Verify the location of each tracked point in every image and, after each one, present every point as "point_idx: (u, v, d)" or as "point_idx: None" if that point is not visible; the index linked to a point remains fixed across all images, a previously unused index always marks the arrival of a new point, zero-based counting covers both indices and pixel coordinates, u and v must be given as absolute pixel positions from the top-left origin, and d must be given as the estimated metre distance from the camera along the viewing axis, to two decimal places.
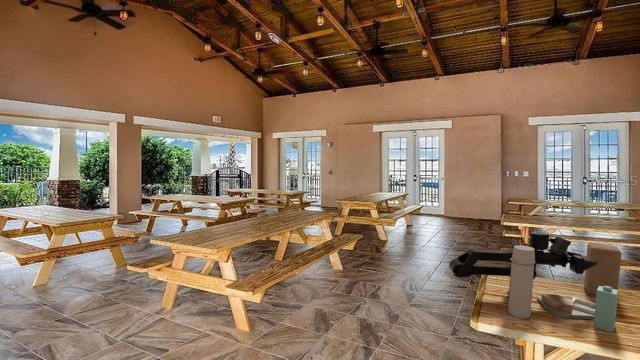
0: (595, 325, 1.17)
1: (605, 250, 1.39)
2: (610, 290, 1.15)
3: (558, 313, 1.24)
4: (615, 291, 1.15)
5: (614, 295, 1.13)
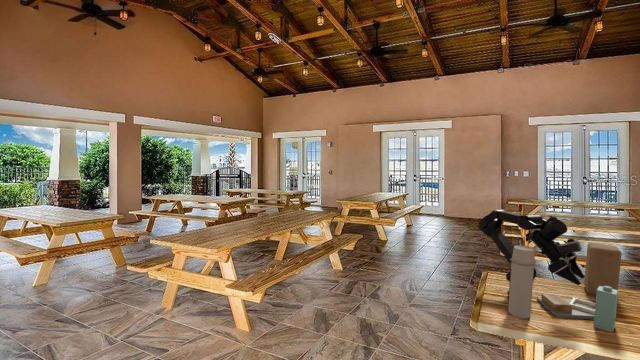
0: (595, 325, 1.17)
1: (605, 250, 1.39)
2: (610, 290, 1.15)
3: (558, 313, 1.24)
4: (615, 291, 1.15)
5: (614, 295, 1.13)
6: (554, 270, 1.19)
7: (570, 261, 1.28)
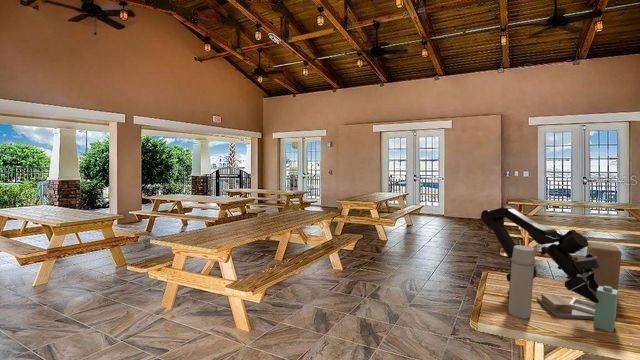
0: (595, 325, 1.17)
1: (605, 250, 1.39)
2: (610, 290, 1.15)
3: (558, 313, 1.24)
4: (615, 291, 1.15)
5: (614, 295, 1.13)
6: (571, 287, 1.15)
7: (588, 277, 1.23)
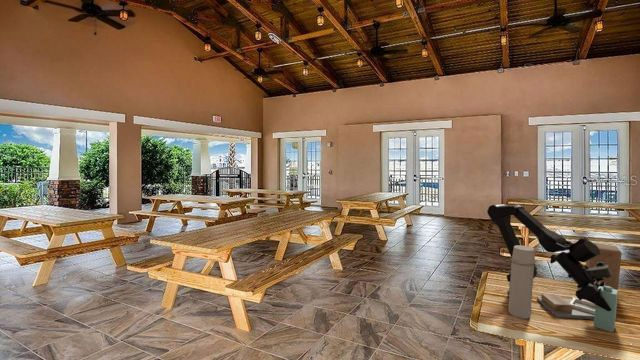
0: (595, 325, 1.17)
1: (605, 250, 1.39)
2: (610, 290, 1.15)
3: (558, 313, 1.24)
4: (615, 291, 1.15)
5: (614, 295, 1.13)
6: (582, 297, 1.13)
7: None
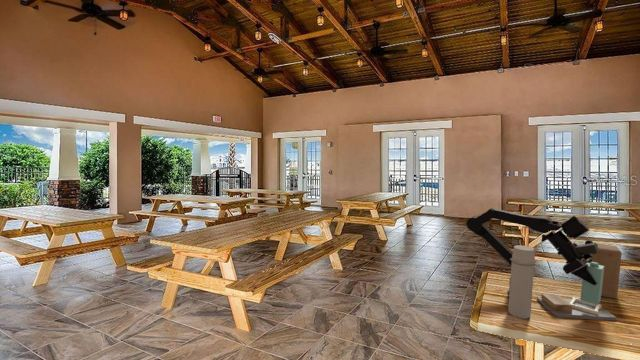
0: (582, 298, 1.24)
1: (605, 250, 1.39)
2: (596, 265, 1.22)
3: (558, 313, 1.24)
4: (601, 267, 1.22)
5: (600, 270, 1.20)
6: (569, 271, 1.21)
7: None
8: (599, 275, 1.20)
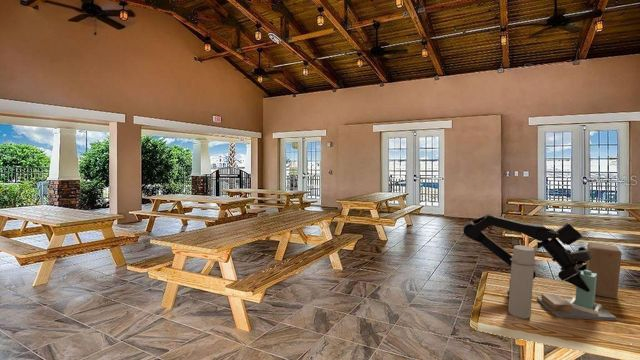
0: None
1: (605, 250, 1.39)
2: (589, 273, 1.26)
3: (558, 313, 1.24)
4: (594, 274, 1.26)
5: (593, 278, 1.24)
6: (564, 277, 1.25)
7: (580, 268, 1.33)
8: (592, 283, 1.25)
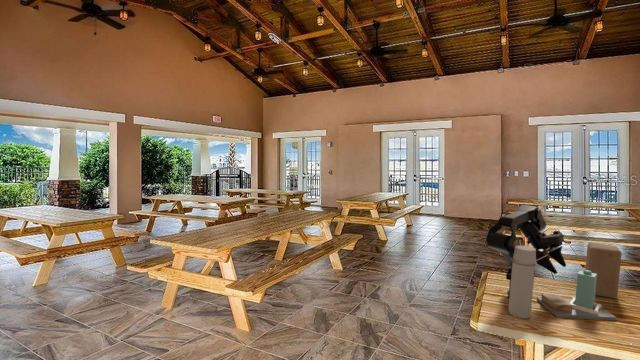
0: None
1: (605, 250, 1.39)
2: (589, 273, 1.26)
3: (558, 313, 1.24)
4: (594, 274, 1.26)
5: (593, 278, 1.24)
6: None
7: (555, 250, 1.39)
8: (592, 283, 1.25)
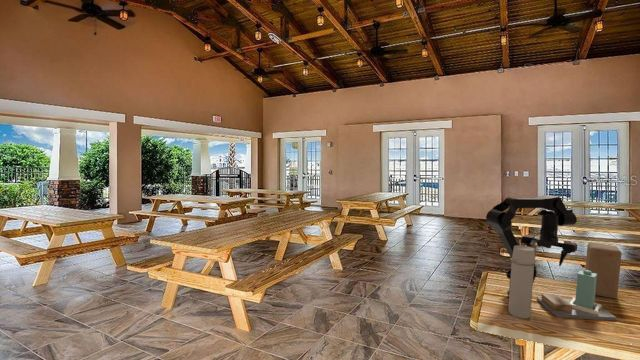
0: None
1: (605, 250, 1.39)
2: (589, 273, 1.26)
3: (558, 313, 1.24)
4: (594, 274, 1.26)
5: (593, 278, 1.24)
6: None
7: (562, 250, 1.38)
8: (592, 283, 1.25)
